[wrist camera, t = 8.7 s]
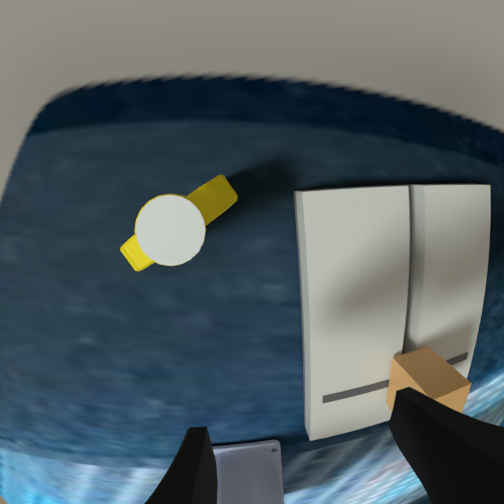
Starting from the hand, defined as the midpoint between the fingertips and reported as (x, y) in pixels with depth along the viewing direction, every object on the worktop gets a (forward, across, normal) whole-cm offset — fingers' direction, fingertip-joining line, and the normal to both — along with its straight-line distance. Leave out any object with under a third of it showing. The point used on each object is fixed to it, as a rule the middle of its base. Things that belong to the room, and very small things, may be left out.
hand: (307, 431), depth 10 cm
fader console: (+9, -9, 0) cm, 13 cm away
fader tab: (+9, -9, +5) cm, 14 cm away
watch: (+10, +4, -7) cm, 13 cm away
